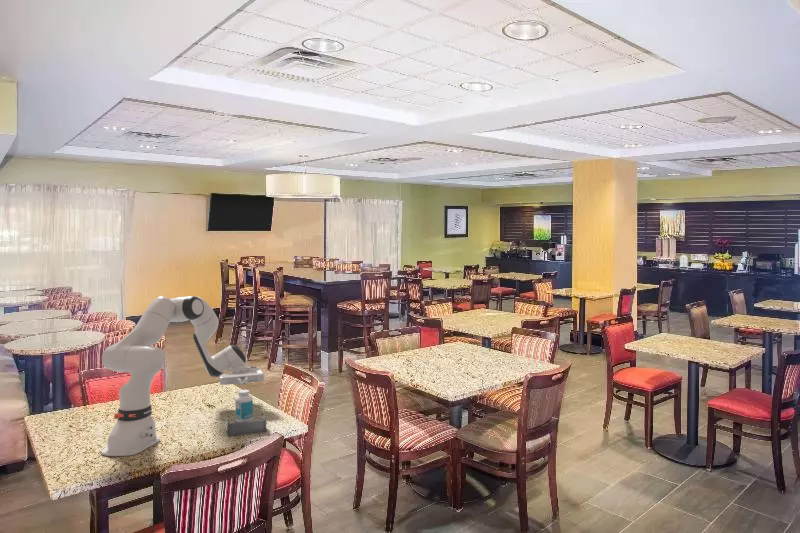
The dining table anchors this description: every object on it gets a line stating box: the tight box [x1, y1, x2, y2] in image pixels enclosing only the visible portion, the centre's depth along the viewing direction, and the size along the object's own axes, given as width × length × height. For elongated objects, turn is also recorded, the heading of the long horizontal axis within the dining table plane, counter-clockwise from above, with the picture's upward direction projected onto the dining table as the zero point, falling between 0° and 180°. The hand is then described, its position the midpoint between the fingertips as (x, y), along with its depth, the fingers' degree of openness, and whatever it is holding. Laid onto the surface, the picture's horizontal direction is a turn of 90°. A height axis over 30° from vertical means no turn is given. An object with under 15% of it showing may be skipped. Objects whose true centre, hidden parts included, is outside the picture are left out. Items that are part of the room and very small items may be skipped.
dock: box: [226, 415, 267, 437], centre depth 235 cm, size 7×15×5 cm, turn 109°
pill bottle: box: [234, 389, 254, 422], centre depth 249 cm, size 8×7×14 cm
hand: (243, 382), depth 256 cm, fingers closed
